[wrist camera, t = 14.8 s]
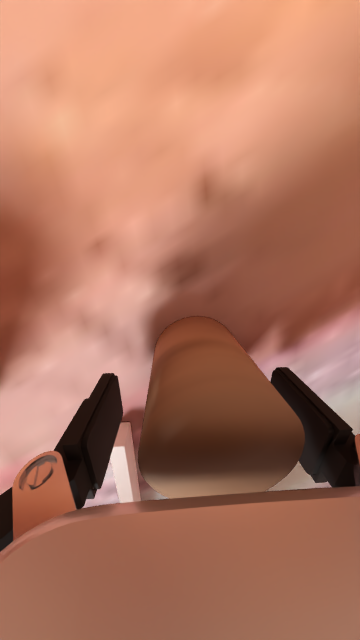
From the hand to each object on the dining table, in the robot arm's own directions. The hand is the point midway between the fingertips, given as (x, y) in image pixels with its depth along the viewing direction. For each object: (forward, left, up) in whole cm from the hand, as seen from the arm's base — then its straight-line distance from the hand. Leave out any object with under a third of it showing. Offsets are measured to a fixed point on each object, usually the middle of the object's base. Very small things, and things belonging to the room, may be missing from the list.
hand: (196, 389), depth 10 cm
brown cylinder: (+1, 0, -3) cm, 3 cm away
